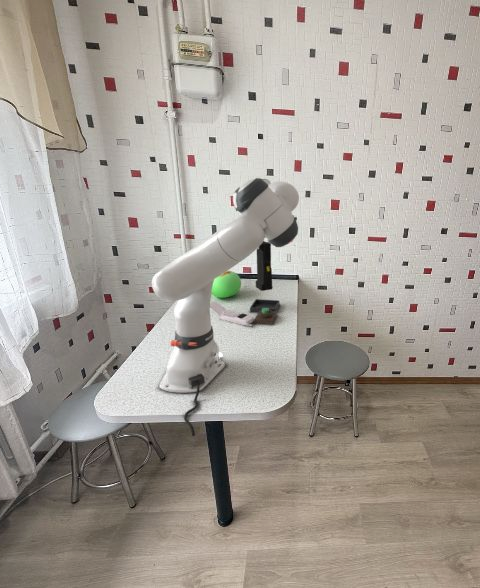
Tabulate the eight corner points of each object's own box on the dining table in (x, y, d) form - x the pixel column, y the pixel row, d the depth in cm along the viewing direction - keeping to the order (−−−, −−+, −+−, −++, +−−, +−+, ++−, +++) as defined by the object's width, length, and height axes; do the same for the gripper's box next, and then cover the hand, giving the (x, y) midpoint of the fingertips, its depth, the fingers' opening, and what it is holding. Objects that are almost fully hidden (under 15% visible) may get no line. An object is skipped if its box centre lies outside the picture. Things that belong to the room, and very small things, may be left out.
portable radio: (274, 289, 159) (274, 238, 151) (263, 292, 156) (262, 239, 147) (266, 285, 165) (265, 235, 156) (255, 287, 161) (254, 236, 153)
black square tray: (275, 313, 159) (275, 309, 158) (250, 312, 160) (250, 307, 159) (279, 305, 169) (279, 300, 168) (255, 303, 170) (255, 299, 169)
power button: (268, 314, 150) (268, 310, 150) (261, 313, 150) (261, 310, 150) (269, 311, 153) (269, 307, 153) (262, 310, 153) (262, 307, 153)
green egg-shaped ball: (228, 304, 167) (226, 277, 161) (200, 299, 171) (197, 272, 166) (247, 292, 183) (246, 267, 177) (221, 288, 187) (219, 263, 182)
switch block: (271, 325, 149) (271, 317, 147) (254, 323, 149) (253, 315, 147) (276, 315, 158) (276, 307, 156) (259, 314, 158) (259, 306, 157)
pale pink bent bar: (214, 300, 157) (258, 310, 148) (215, 311, 159) (258, 322, 150) (205, 304, 151) (249, 316, 142) (206, 316, 154) (250, 328, 145)
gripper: (271, 213, 158) (272, 242, 163) (241, 218, 141) (242, 250, 146) (282, 215, 155) (282, 244, 160) (252, 220, 138) (253, 252, 143)
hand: (263, 247), depth 153 cm, fingers closed on portable radio, 6 cm apart
